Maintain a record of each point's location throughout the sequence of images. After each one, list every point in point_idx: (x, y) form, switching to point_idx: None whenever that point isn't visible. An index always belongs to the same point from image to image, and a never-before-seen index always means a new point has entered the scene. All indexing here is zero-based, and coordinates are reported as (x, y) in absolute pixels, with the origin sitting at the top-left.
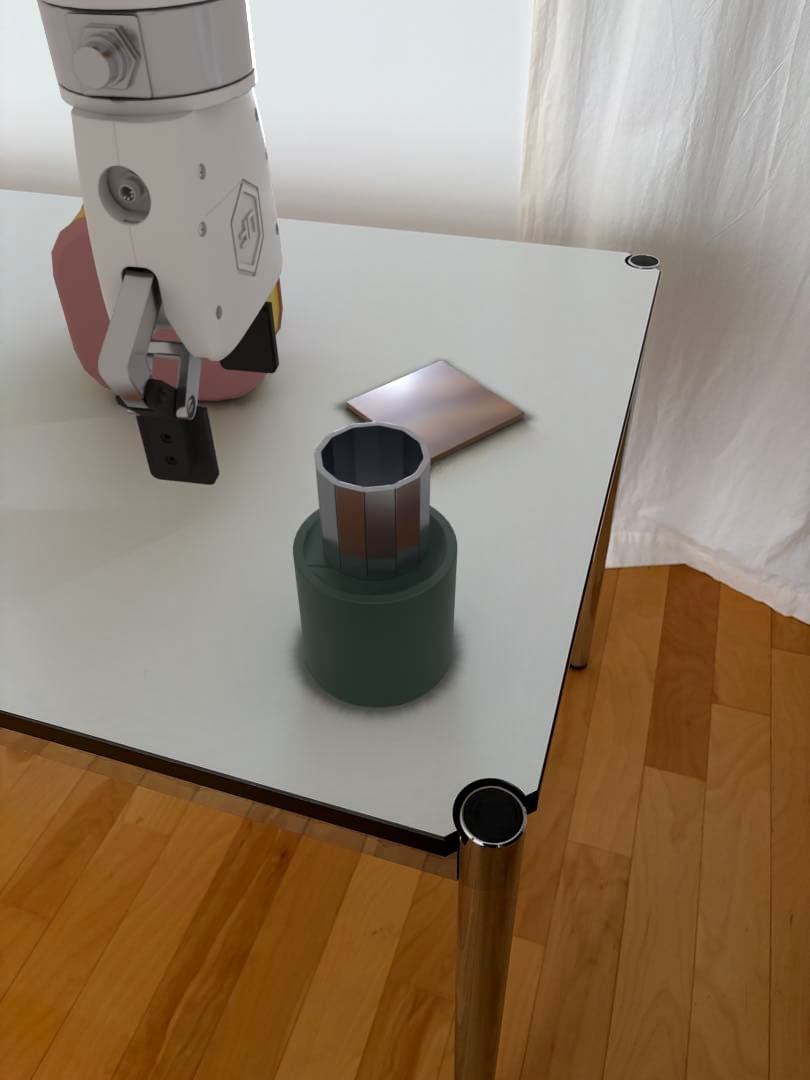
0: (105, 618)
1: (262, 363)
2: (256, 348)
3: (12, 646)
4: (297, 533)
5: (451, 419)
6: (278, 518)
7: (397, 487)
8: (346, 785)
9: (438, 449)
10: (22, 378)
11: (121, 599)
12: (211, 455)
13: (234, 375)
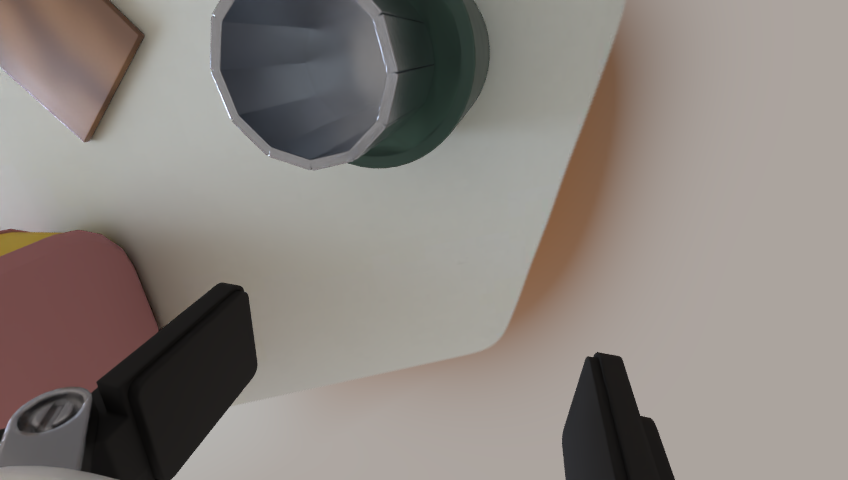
0: (408, 303)
1: (236, 317)
2: (216, 345)
3: (443, 357)
4: (364, 166)
5: (59, 10)
6: (265, 185)
7: (379, 8)
8: (582, 67)
9: (115, 21)
10: None
11: (386, 295)
12: (632, 403)
13: (102, 261)
